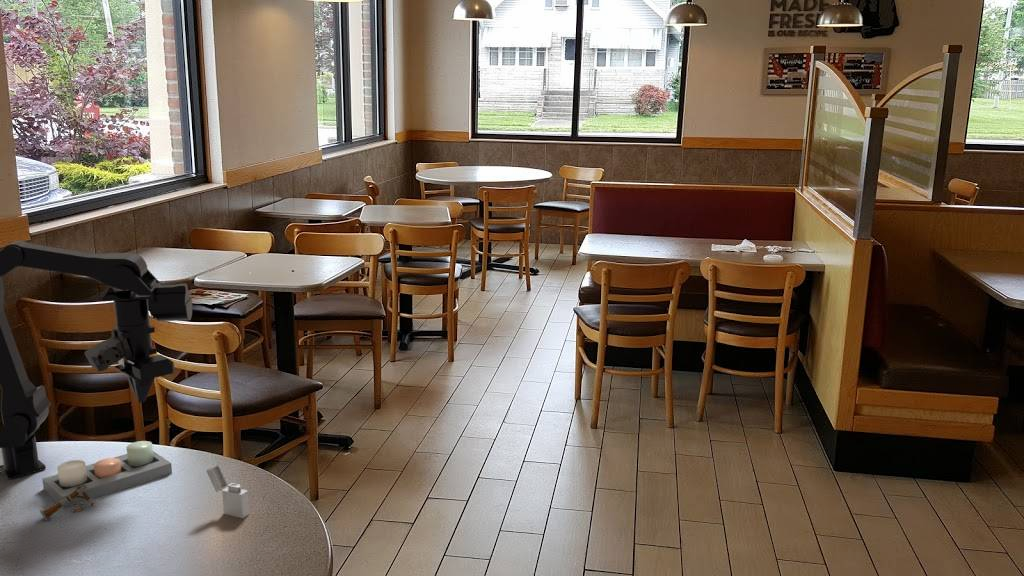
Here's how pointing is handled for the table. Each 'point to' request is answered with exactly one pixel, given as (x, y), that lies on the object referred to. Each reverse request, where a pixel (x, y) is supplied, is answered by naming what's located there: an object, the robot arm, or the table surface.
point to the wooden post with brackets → (66, 500)
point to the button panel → (110, 479)
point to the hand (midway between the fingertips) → (141, 402)
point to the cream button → (72, 473)
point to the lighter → (229, 493)
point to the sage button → (140, 453)
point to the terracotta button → (107, 467)
